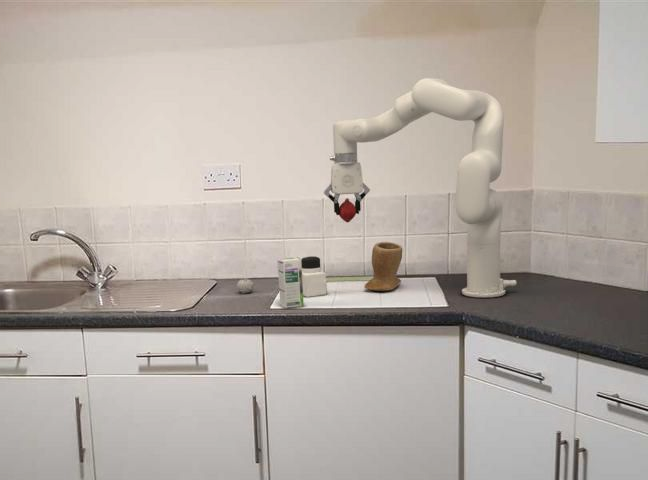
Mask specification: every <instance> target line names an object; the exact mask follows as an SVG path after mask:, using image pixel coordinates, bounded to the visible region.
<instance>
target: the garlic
mask: <svg viewBox="0 0 648 480" xmlns="http://www.w3.org/2000/svg"><path fill="white" fill-rule="evenodd" d="M236 289H237V291H238V292H239V293H241V294H243V295H245V294H249V293H251V292H252V290H253V289H254V282H253V281H252V280H250V279H249V278H247V277H243V279H240V280H239V281H238V282H237V283H236Z"/></svg>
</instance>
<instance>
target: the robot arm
mask: <svg viewBox="0 0 648 480" xmlns="http://www.w3.org/2000/svg"><path fill="white" fill-rule="evenodd" d="M431 113H433V114H437V115H440V116H442V117H445V118H447V119H448V118H449V119H451V120H455V121H460V122H461V121H462V122H464V121H472V122H473V123H474V128H473V131H472V135H471V136H472V137H471V138H472V139H471V151H470V153H468V154H466V155H465V156H464V157H463V158H462V159H461V160H460V162H459V164H458V167H457V172H456V186H455V187H456V188H455V211H456V215H457V216H458V218H459V219H460V221H462V222H463V223H464V224H467V230H466V234H467V235H466V287H464V288H462V289H461V295H463V296H466V297H471V298H480V299H481V298H484V299H485V298H498V297H502V296H505V294H506V288H507V287H509V288H510V287H517V280H516V279H510V280H509V279H504V278H503V277H502V278H501V235H502V234H501V233H502V232H501V231H502V221H503V212H504V211H503V210H504V203H503V198H502V196H501V195H500V193H499V192H498V191H496V190H495V189H492V188H490V187H491V183H493V182H495V181H497V180H498V178H499V177H500V176H501V173H502V164H503V163H502V162H503V144H504V140H503V138H504V123H505V122H504V121H505V120H504V111H503V108H502V106H501V104H500V102H499V101H498V100H497V99H496V98H495V97H494V96H492V95H491V94H489V93H487V92H485V91H482V90H475V89H462V88H458V87H455V86H452V85H450V84H449V83H448V81H446V80H444V79H441V78H435V77H434V78H433V77H425V78H422V79H420V80H418V81H417V82H416V83H415V84H414V85H413V87H412V90H410V91H408V92H406V93H405V94H403V95H401V96H399V97H397V98H396V99H395V100H394V106H393V107H391V108H390V109H388V110H387V111H385V112H383V113H381V114H379V115H378V116H375V117H363V118H356V119H345V120H344V119H343V120H336V121H334V122H333V124H332V136H333V139H332V140H333V155H330V156H329V161H332V162H333V163H332V165H331V172H330V183H329V184H328V186H327V187H326V188H325V189H324V191H323V194H324V196H325V197H327V198H328V199H329V200H330V201H331V202H332V203H333V212H334V213H335V215H336V216H339V215H340V210H339V207H340V203H339V199H340V196H341V195H354V197H355V201H354V206H355V208H356V215H359V214H360V212H361V209H362V208H361V206H362V205H361V202H362V200H363V199H364V198H365V197H366V195H368V194H369V193H370V191H371V189H370V188H369V186H367V185H366V183H364V182H363V181H364V180H363V171H362V165H361V162H358V143H374V142H379V141H381V140H384V139H386V138H388V137H390V136H392V135H394V134H395V133H398V132H399V131H401V130H403V129H404V128H405V127H407V126H409V124H411V123H413V122H415V121H417V120H419V119H421V118H422V117H425V116H427V115H429V114H431ZM330 192H331V193H332V194H334V195H332V194H331V193H330Z"/></svg>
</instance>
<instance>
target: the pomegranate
mask: <svg viewBox="0 0 648 480" xmlns="http://www.w3.org/2000/svg"><path fill="white" fill-rule="evenodd" d="M339 210H340V215H338V217H340V219H341V220H343V222H345V223H350V222H351V221H352V220H353V219H354V218H355V217H356V215H357V214H356V208H355V203H353V202H351V201H350V199H349V198H347V197H346V198H345V199H344V201H343V202H342V203H341V204H339Z"/></svg>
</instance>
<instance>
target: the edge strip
mask: <svg viewBox="0 0 648 480" xmlns="http://www.w3.org/2000/svg"><path fill="white" fill-rule="evenodd" d="M373 278H374V275H370V276H368V275H367V276H365V275H363V276H331V277H330V276H329V277H327V276H326V282H357V281H370V280H371V279H373Z"/></svg>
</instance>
